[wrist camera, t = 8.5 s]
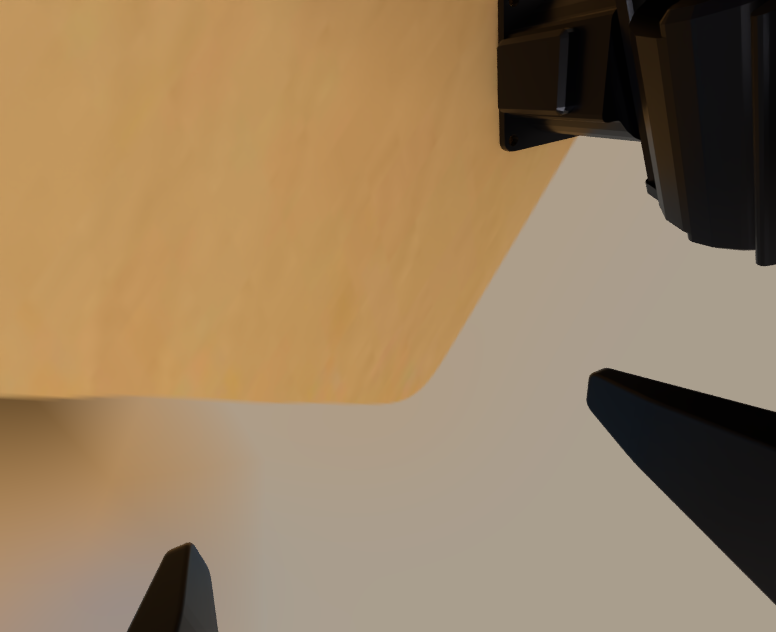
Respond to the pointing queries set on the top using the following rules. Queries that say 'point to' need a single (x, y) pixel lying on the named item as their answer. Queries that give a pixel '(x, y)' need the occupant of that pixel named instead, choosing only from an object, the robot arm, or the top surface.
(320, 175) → the top surface
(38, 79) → the top surface
